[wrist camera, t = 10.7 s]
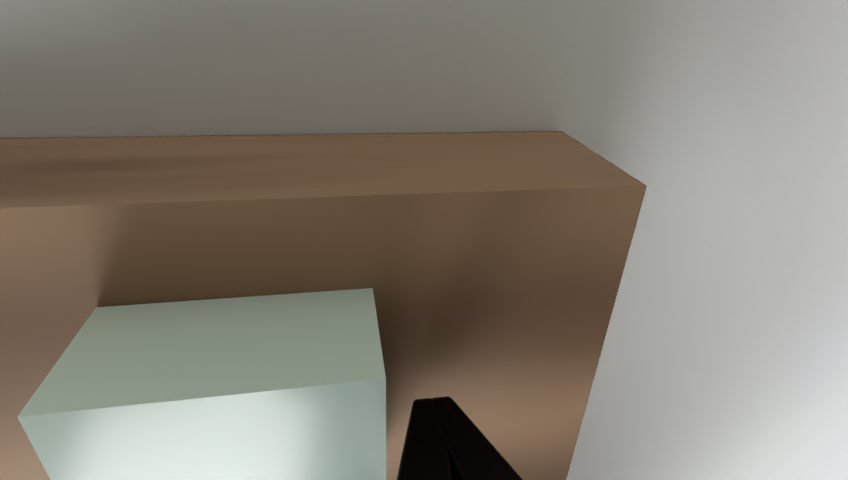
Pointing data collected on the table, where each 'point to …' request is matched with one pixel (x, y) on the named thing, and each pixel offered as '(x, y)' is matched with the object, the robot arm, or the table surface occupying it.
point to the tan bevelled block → (334, 260)
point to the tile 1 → (218, 392)
